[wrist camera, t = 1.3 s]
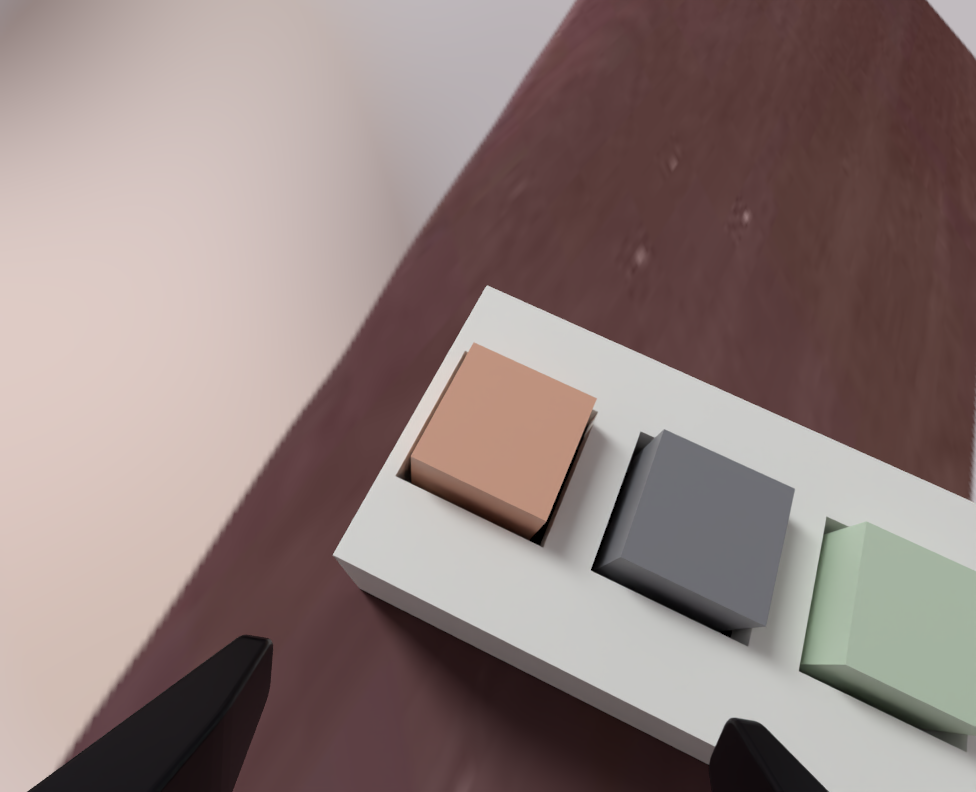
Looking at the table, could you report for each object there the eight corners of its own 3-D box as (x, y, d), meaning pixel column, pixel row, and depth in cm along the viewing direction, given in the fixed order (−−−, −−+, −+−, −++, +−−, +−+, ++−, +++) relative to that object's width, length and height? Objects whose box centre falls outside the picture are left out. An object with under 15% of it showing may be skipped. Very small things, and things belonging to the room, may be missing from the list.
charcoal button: (716, 631, 15) (766, 626, 13) (592, 571, 16) (620, 556, 13) (746, 511, 17) (794, 488, 15) (632, 458, 17) (664, 429, 15)
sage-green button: (915, 727, 15) (1001, 739, 13) (784, 664, 15) (845, 664, 13) (928, 595, 16) (1006, 584, 14) (808, 539, 17) (866, 521, 14)
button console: (790, 805, 19) (978, 878, 13) (359, 588, 20) (332, 554, 14) (833, 553, 23) (994, 511, 16) (468, 384, 24) (486, 285, 18)
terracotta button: (528, 540, 16) (546, 521, 14) (411, 484, 16) (410, 456, 14) (574, 431, 17) (596, 398, 15) (466, 381, 18) (473, 341, 15)
